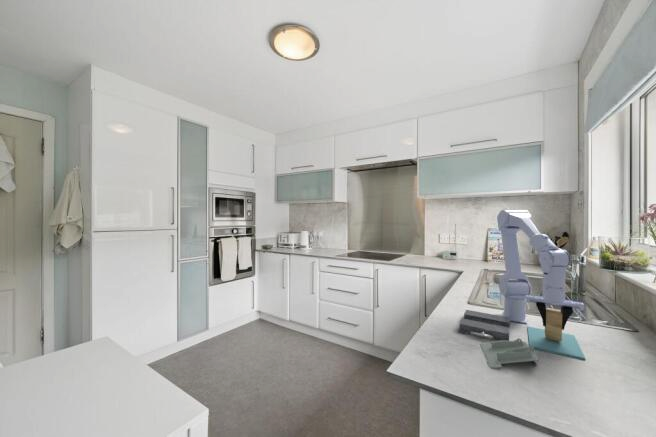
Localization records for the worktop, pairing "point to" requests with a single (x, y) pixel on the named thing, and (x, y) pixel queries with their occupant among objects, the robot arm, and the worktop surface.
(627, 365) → the worktop surface
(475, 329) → the vise
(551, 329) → the oak peg
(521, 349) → the metal bracket
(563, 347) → the teal mat
